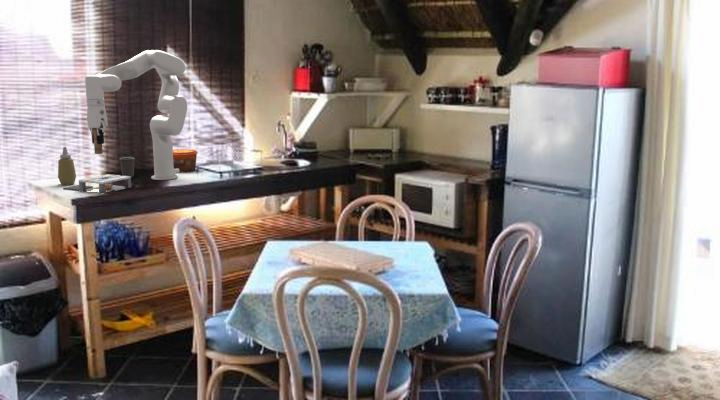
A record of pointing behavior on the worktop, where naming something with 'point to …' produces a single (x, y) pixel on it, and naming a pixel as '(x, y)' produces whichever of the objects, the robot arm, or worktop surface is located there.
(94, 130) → the dowel
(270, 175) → the worktop surface
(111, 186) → the small grey pallet
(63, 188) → the mat
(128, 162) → the coffee cup
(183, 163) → the food container
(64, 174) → the squeeze bottle
